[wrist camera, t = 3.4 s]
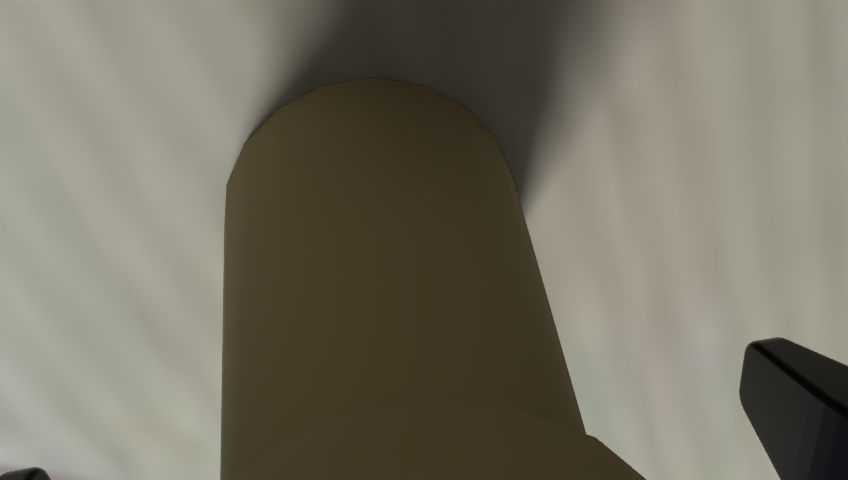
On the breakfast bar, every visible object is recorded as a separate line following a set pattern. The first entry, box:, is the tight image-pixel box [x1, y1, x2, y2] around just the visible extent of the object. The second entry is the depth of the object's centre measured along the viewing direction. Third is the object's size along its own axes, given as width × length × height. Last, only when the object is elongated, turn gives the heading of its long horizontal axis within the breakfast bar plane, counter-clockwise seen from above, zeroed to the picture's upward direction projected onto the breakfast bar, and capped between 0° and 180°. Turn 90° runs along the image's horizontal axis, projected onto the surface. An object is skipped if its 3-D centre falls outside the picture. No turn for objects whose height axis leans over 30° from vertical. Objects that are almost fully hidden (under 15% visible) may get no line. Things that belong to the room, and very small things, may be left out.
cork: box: [220, 77, 646, 480], centre depth 9 cm, size 6×6×11 cm
